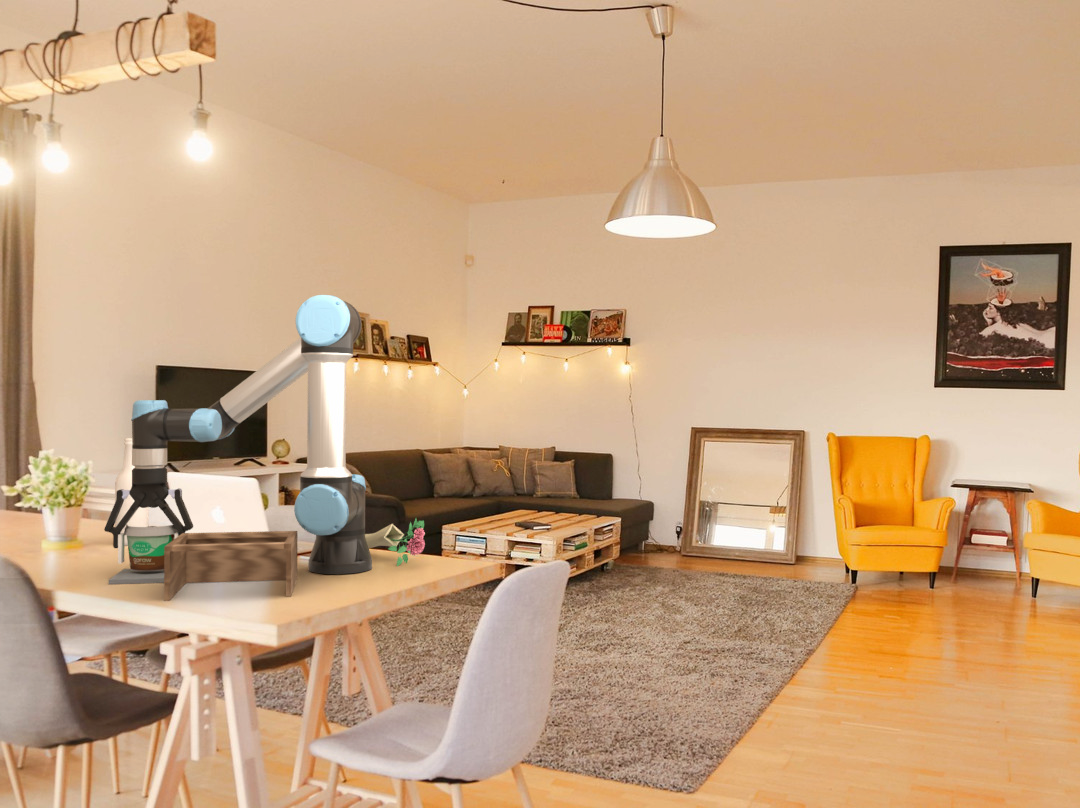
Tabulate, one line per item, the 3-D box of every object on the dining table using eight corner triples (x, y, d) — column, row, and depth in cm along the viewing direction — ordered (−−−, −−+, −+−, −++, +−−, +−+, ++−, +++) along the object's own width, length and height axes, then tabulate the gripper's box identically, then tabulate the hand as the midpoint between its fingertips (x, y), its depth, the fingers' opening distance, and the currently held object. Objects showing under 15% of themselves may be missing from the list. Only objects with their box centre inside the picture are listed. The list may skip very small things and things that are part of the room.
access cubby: (297, 578, 215) (297, 530, 215) (291, 596, 195) (291, 543, 195) (182, 582, 210) (182, 533, 210) (164, 600, 191) (164, 546, 190)
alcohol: (123, 541, 271) (123, 437, 271) (153, 541, 271) (154, 437, 271) (109, 546, 262) (109, 438, 262) (140, 546, 262) (141, 438, 262)
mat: (186, 571, 224) (186, 567, 224) (175, 582, 210) (175, 577, 210) (124, 573, 221) (124, 568, 221) (108, 584, 207) (108, 579, 207)
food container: (116, 572, 211) (116, 527, 211) (124, 567, 218) (124, 524, 218) (173, 571, 213) (173, 527, 213) (179, 566, 219) (180, 523, 219)
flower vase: (369, 579, 254) (446, 567, 229) (330, 571, 246) (404, 557, 221) (376, 537, 258) (451, 520, 233) (337, 527, 251) (411, 509, 226)
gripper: (206, 465, 221) (206, 557, 221) (98, 466, 217) (98, 560, 217) (201, 467, 214) (201, 562, 214) (89, 468, 209) (89, 566, 209)
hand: (149, 561), depth 215 cm, fingers closed on food container, 11 cm apart
